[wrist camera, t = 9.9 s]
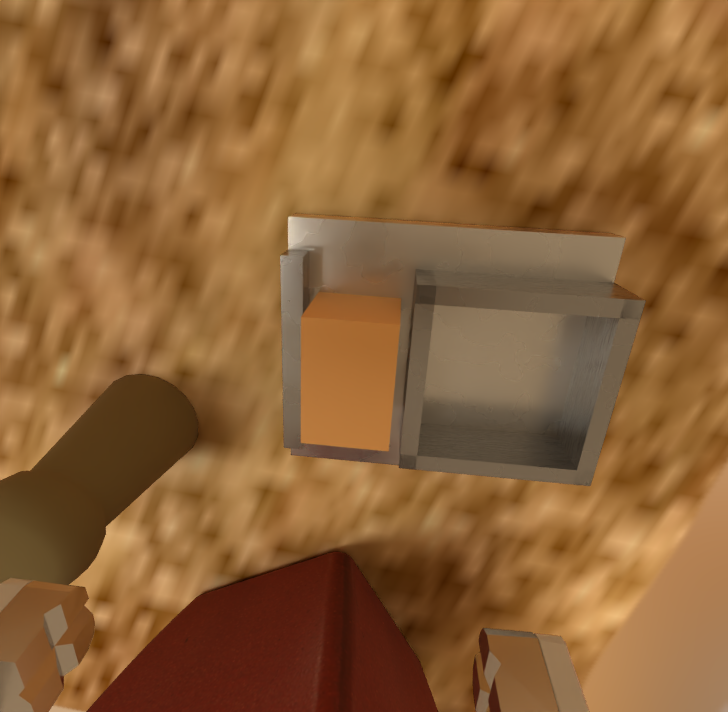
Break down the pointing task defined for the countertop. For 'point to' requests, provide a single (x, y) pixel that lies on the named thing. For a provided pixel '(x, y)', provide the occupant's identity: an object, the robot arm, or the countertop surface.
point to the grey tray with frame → (474, 340)
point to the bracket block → (349, 370)
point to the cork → (91, 478)
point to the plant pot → (278, 650)
